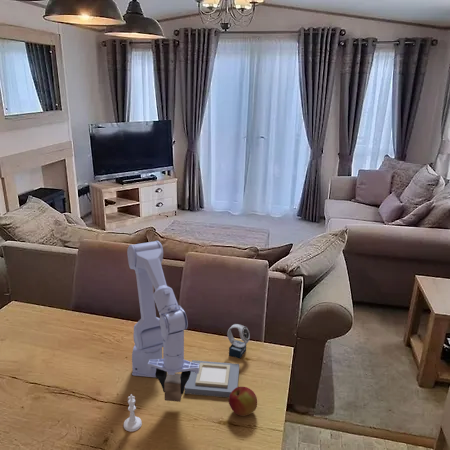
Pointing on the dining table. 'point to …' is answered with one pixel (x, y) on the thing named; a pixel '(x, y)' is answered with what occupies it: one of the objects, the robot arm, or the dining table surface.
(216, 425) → the dining table surface
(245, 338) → the watch
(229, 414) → the dining table surface
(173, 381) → the walnut block
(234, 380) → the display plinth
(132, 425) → the chess piece
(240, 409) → the apple
